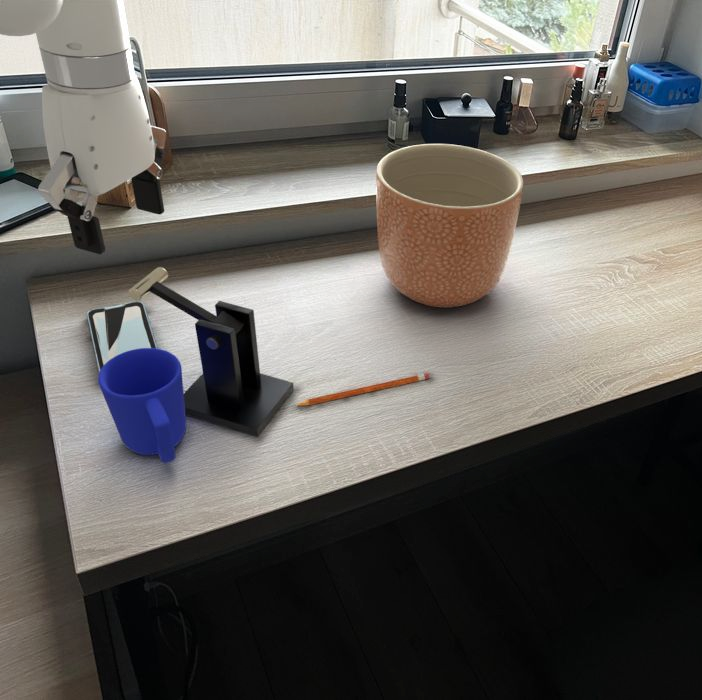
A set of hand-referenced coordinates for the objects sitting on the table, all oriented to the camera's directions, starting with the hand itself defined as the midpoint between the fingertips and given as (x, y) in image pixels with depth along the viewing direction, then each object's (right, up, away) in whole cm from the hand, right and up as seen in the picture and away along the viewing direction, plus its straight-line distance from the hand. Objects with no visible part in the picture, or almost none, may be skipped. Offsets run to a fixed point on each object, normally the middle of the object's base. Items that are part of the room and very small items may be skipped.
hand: (122, 229), depth 77 cm
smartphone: (-8, -12, +18) cm, 23 cm away
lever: (+5, -9, +5) cm, 12 cm away
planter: (+33, -3, +36) cm, 49 cm away
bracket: (+8, -19, +12) cm, 24 cm away
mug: (+2, -24, +5) cm, 25 cm away
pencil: (+24, -18, +15) cm, 34 cm away
